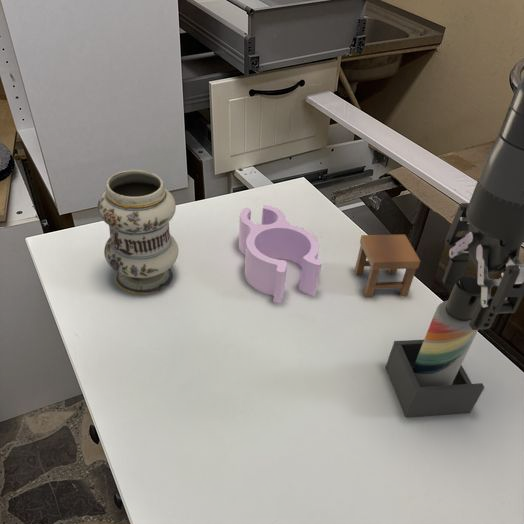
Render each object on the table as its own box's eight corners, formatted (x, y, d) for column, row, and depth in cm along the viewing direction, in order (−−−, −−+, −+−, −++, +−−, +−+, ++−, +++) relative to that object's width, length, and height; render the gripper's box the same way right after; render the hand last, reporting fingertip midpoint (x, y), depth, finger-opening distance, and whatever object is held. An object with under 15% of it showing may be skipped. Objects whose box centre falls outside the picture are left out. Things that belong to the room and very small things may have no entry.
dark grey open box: (444, 365, 81) (456, 337, 77) (469, 415, 74) (484, 387, 70) (384, 369, 79) (394, 340, 75) (404, 419, 73) (416, 391, 69)
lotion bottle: (425, 371, 80) (470, 263, 65) (453, 396, 76) (507, 289, 62) (398, 385, 77) (439, 276, 63) (425, 412, 74) (475, 303, 60)
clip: (223, 243, 100) (223, 211, 95) (282, 233, 104) (285, 201, 99) (262, 308, 87) (265, 275, 83) (328, 294, 91) (335, 261, 86)
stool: (394, 271, 98) (405, 234, 92) (408, 298, 92) (420, 261, 86) (352, 272, 96) (361, 235, 91) (364, 300, 91) (374, 262, 85)
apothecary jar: (149, 309, 85) (137, 211, 73) (94, 282, 89) (74, 184, 77) (193, 273, 93) (190, 179, 80) (141, 250, 97) (130, 156, 84)
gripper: (589, 220, 49) (518, 343, 61) (518, 152, 59) (468, 269, 71) (516, 221, 48) (457, 346, 60) (455, 152, 58) (415, 271, 70)
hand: (463, 304), depth 65 cm, fingers open, 8 cm apart
